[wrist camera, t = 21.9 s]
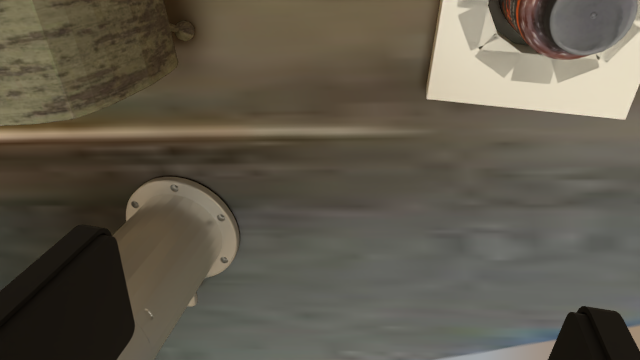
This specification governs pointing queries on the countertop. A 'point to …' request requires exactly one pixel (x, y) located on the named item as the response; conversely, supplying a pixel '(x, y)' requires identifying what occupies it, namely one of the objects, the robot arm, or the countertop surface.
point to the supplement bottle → (570, 24)
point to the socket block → (526, 68)
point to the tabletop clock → (80, 55)
